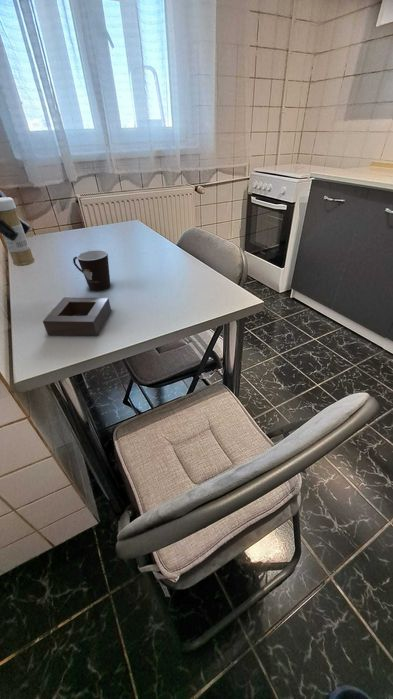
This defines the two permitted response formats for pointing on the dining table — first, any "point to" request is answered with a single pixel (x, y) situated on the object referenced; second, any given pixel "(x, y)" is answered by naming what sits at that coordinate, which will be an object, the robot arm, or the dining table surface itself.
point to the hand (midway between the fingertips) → (21, 233)
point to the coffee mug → (94, 269)
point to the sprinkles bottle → (18, 247)
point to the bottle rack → (77, 317)
